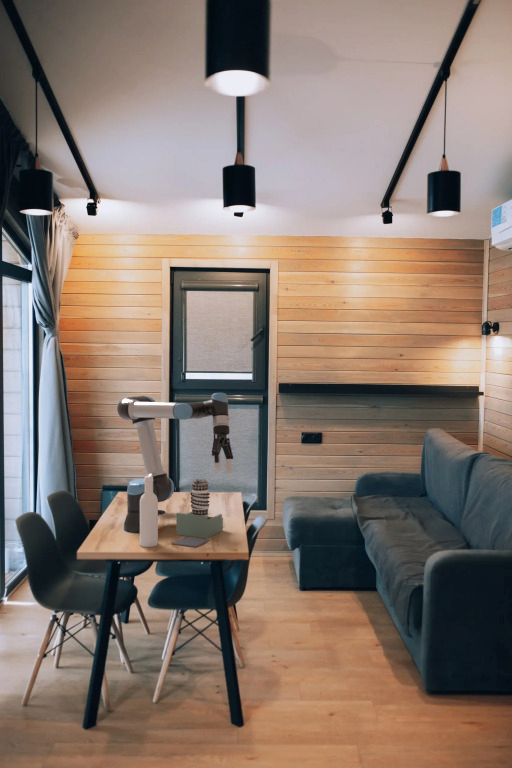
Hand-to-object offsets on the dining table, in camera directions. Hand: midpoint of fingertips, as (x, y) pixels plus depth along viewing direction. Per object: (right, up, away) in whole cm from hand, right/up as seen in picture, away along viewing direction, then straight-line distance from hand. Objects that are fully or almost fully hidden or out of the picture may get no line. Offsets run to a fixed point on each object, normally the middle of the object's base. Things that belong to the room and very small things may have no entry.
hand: (223, 471), depth 290 cm
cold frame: (-12, -30, +11) cm, 34 cm away
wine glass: (-39, -29, +52) cm, 71 cm away
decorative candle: (-12, -30, +11) cm, 34 cm away
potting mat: (-14, -31, -7) cm, 34 cm away
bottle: (-32, -31, -11) cm, 46 cm away
